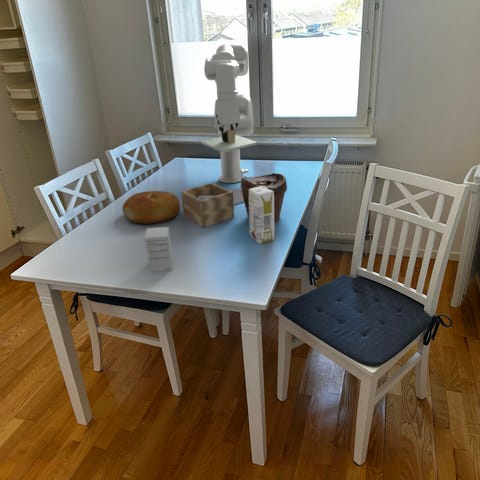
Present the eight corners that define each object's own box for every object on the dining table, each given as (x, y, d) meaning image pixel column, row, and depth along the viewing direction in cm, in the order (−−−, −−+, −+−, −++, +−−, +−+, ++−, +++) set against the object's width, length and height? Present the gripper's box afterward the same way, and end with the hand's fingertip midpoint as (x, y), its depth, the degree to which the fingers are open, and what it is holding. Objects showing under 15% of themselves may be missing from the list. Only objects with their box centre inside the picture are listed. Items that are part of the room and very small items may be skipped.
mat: (238, 188, 211) (238, 187, 211) (259, 197, 199) (259, 196, 199) (210, 196, 203) (210, 195, 202) (230, 206, 191) (230, 205, 191)
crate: (214, 206, 191) (212, 182, 186) (234, 217, 180) (233, 192, 175) (184, 216, 184) (181, 191, 179) (203, 227, 173) (200, 201, 168)
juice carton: (258, 245, 157) (257, 195, 149) (247, 236, 164) (245, 188, 156) (277, 240, 160) (276, 191, 152) (265, 231, 167) (264, 184, 159)
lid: (234, 136, 198) (233, 122, 195) (257, 144, 186) (256, 130, 183) (201, 143, 190) (200, 129, 187) (223, 152, 177) (222, 138, 175)
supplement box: (151, 261, 150) (146, 227, 144) (173, 259, 151) (169, 226, 145) (149, 272, 144) (144, 237, 138) (172, 270, 144) (167, 236, 138)
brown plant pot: (294, 210, 184) (293, 169, 176) (277, 230, 168) (275, 185, 160) (254, 205, 191) (252, 165, 183) (234, 224, 175) (231, 181, 167)
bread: (150, 202, 200) (147, 181, 196) (191, 210, 189) (189, 188, 184) (113, 220, 183) (109, 198, 178) (156, 231, 172) (153, 207, 167)
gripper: (237, 91, 185) (239, 135, 194) (204, 97, 177) (207, 142, 186) (248, 94, 180) (249, 138, 188) (214, 100, 172) (217, 146, 180)
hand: (228, 140), depth 187 cm, fingers closed on lid, 3 cm apart
